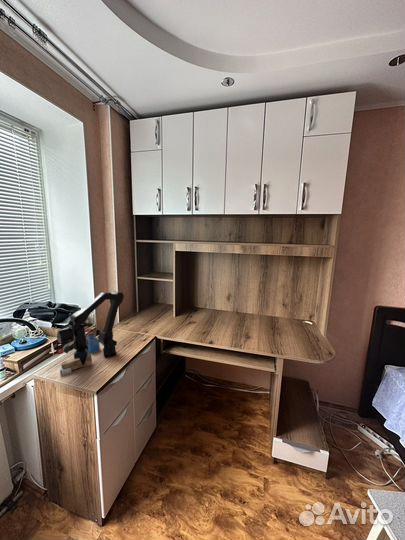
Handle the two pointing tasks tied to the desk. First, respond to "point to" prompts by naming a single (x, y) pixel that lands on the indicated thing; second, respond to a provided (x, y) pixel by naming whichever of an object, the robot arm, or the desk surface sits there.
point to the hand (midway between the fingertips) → (83, 362)
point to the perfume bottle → (92, 343)
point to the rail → (76, 363)
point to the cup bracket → (65, 371)
